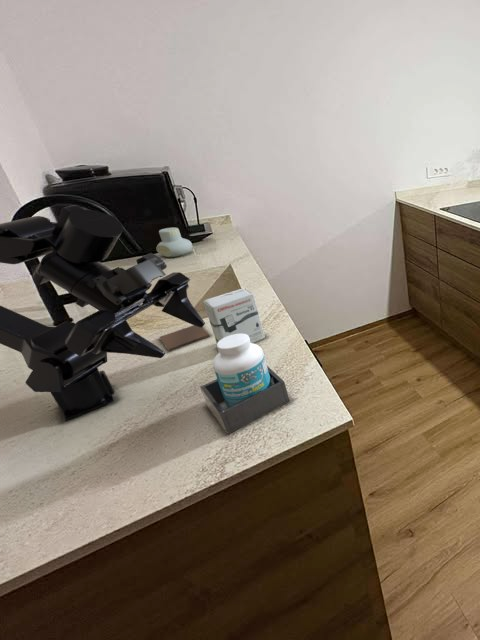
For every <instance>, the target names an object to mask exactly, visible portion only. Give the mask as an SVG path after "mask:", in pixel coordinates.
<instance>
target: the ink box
mask: <svg viewBox="0 0 480 640" xmlns="http://www.w3.org/2000/svg"><path fill="white" fill-rule="evenodd" d="M255 299H256V298H255V296H254V294H253V293H252V292H251V291H249V290H248V289H246V288H239V289H235V290H233V291H230V292H229V291H228V292H226V293H222V294H220V295H217V296H214V297H211V298H210V297H209V298H207V299H205V300H204V301H203V305H204V308H205V311H206V315H207V317H208V320H209V324H210V326H211V331H212V333H213V336H214V338H215V342H216V344H217V343H218V342H219V341H220V340H221V339H223V338H224V337H227V336H229V335H233V334H247V335H248V336H249V338H250V342H251V343H253V344H255V343H257V342H259V341H262V340H263V339H266V335H265V332H264V329H263V325H262V322H261V318H260V314H259V310H258V306H257V303H256V300H255Z"/></svg>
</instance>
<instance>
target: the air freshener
mask: <svg viewBox="0 0 480 640" xmlns="http://www.w3.org/2000/svg"><path fill="white" fill-rule="evenodd" d="M158 234H159V236H160V239H161V241H159V243H158V244H157V246H156V249H155V250H156V252H157V253H158V254H159V255H161V256H162V257H167V258H177V257H181V256H184V255H187V254H188V253H189V252H191V251H192V250H193V243H192V241H190V240H189V239H187V238H183V237H182V235H181V232H180V229H179V228H178V227H166V228H162V229H159V230H158Z"/></svg>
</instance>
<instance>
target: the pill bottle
mask: <svg viewBox="0 0 480 640" xmlns="http://www.w3.org/2000/svg"><path fill="white" fill-rule="evenodd" d="M216 348H217V351H218V353H217V354H216V355H215V357H214V358H213V360H212V368H213V371H214V374H215V377H216V379H217V380H218V383H219V385H220V388H221V391H222V394H223V397H224V402H225V405H226V408H228V407H230V406H232V405H234V404H236V403H238V402H240V401H242V400H244V399H246V398H248V397H250V396H252V395H254V394H256V393H258V392H260V391H262V390H264V389H266V388H268V387H270V386H272V382H271V379H270V375H269V372H268V368H267V366H268V365H267V361H266V358H265V354H264V351H263V349H262V347H261V346H259V345H258V344H256V343H251V342H250V338H249V336H248V335H247V334H233V335H229V336H227V337H224V338H223V339H221V340H220V341H219V342H218V343H216Z"/></svg>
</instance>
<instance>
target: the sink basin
mask: <svg viewBox="0 0 480 640" xmlns="http://www.w3.org/2000/svg"><path fill="white" fill-rule="evenodd" d="M267 368H268V372H269V375H270V379H271V382H272V386H270V387H268V388H266V389H264V390H262V391H260V392H258V393H256V394H254V395H252V396H250V397H248V398H246V399H244V400H242V401H240V402H238V403H236V404H234V405H232V406H230V407H228V408H227V407H225V408H222V407H221V406H220V403H222V402H223V401H224V402H225V400H224V397H223V394H222V391H221V388H220V385H219V383H218V380H217V378H216V379H214V380H212V381H210V382H208V383H205V384H203V385H200V386H199V388H200V391H201V393H202V396H203V398H204V402H205V403H206V406H207V408H208V409H209V411H210V412H211V414H212V415H213V416H214V417H215V419H216V420H217V422H218V423H219V424H220V426H221V428H222V429H223V430H224V432H225V433H226V434H227V435H230V434H232V433H233V432H235V431H237V430H239V429H241V428H243V427H244V426H246V425H248V424H250V423H252V422H254V421H255V420H257V419H259V418H261V417H263V416H264V415H267V414H268V413H270V412H272V411H274V410H276V409H278V408H279V407H282V406H283V405H285V404H287V403H289V402H290V397H289V393H288V390H287V385H286V383H285V382H286V381H284V380H283V378H281V377H280V376H279V375H278V374H277V373H276V372H275V371H273V370H272V368H271V367H269V366H268V365H267Z"/></svg>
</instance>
